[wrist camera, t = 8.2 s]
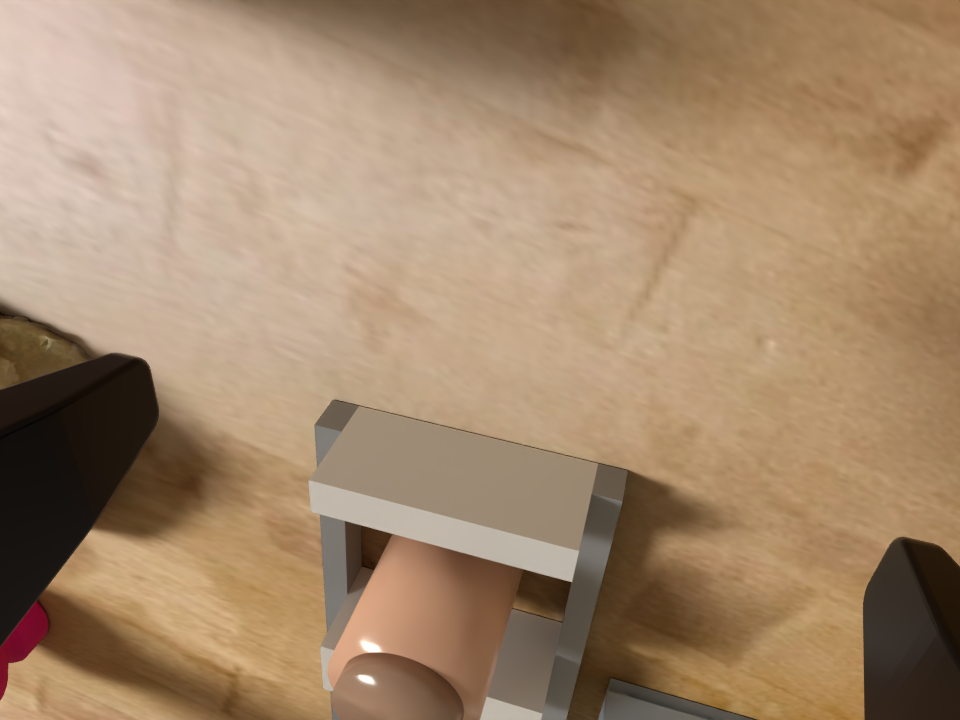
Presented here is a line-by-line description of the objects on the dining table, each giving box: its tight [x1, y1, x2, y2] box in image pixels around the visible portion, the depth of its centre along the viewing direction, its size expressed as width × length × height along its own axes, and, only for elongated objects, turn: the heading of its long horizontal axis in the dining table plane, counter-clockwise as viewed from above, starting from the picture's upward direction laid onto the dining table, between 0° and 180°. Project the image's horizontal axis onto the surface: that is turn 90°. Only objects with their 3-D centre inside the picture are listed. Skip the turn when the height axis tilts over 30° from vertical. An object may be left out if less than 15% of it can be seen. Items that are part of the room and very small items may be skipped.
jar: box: [327, 534, 524, 720], centre depth 26 cm, size 5×5×8 cm
